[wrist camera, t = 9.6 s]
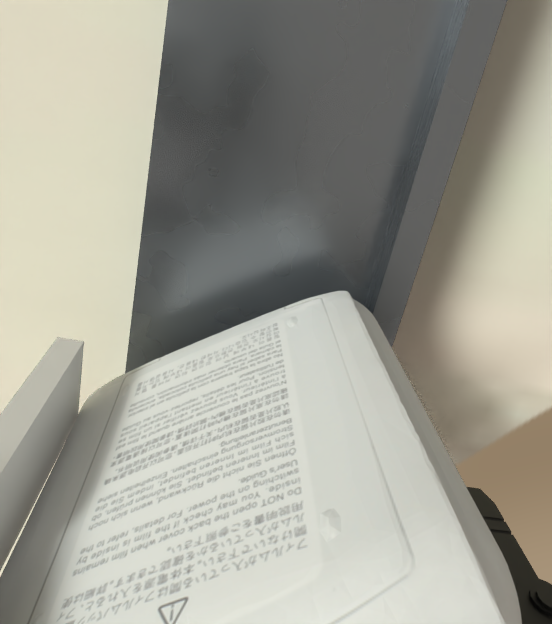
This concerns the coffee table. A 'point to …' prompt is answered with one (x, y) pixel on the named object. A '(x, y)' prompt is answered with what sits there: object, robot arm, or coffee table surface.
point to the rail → (299, 156)
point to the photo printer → (260, 492)
